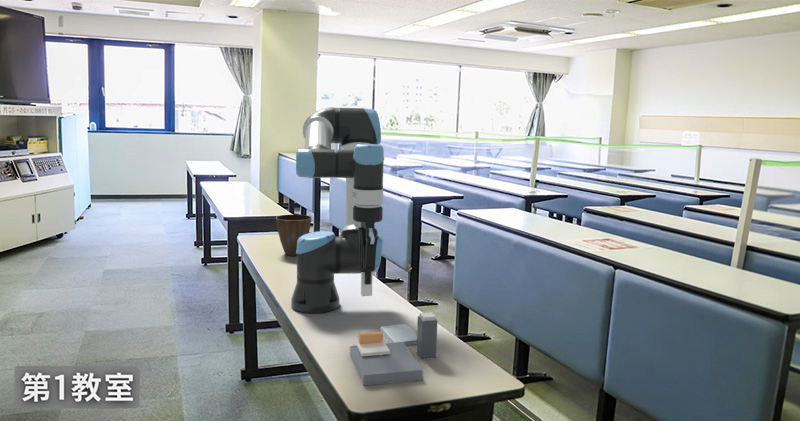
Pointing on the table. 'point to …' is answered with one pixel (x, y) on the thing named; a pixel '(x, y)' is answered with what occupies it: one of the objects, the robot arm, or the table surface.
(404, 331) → the hard drive
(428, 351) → the grey block
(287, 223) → the plant pot
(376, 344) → the shutter
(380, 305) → the table surface
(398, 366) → the socket plate
